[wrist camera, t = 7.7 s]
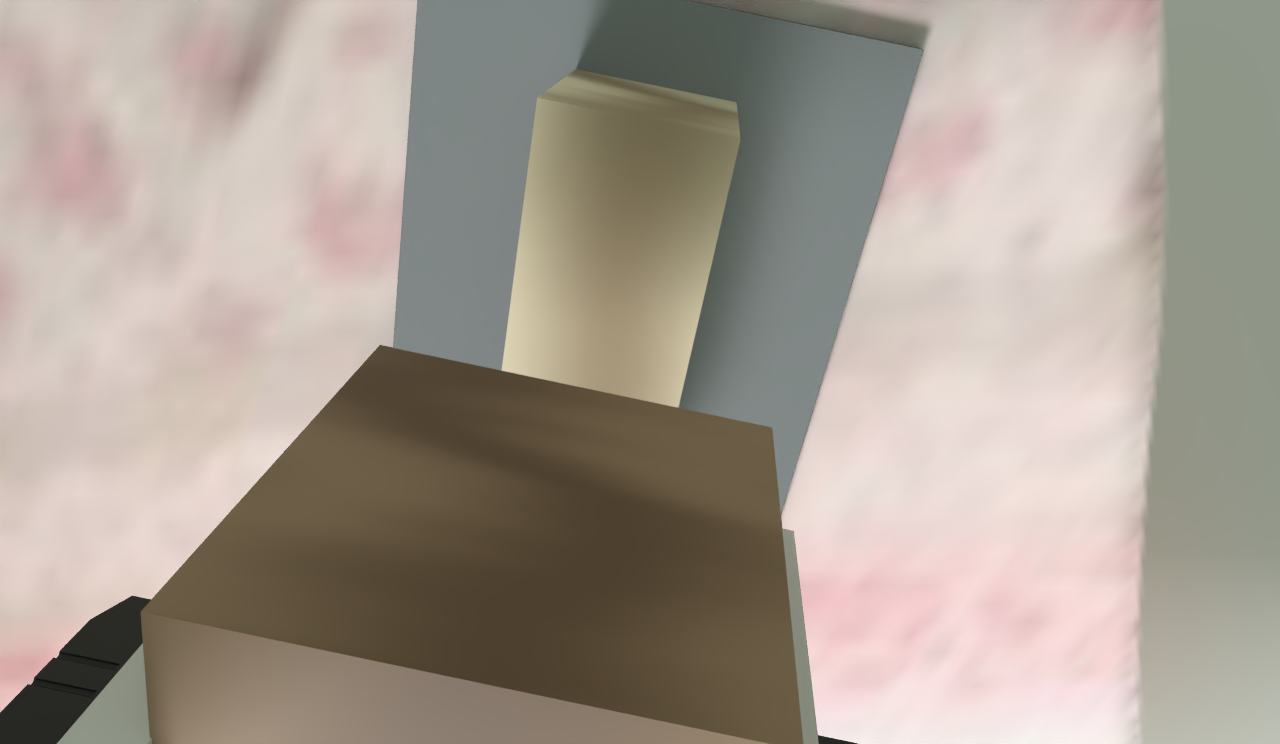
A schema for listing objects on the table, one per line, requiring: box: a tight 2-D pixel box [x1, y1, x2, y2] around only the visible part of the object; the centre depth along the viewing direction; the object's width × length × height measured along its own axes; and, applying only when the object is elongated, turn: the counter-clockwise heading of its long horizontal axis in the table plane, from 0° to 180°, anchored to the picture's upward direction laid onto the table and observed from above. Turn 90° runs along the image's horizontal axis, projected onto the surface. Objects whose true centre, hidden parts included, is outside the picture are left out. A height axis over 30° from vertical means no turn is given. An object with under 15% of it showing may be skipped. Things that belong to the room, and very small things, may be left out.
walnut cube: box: [141, 345, 803, 744], centre depth 12 cm, size 6×6×6 cm
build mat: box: [393, 0, 923, 512], centre depth 24 cm, size 12×16×1 cm
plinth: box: [502, 69, 740, 408], centre depth 22 cm, size 4×12×5 cm, turn 170°
